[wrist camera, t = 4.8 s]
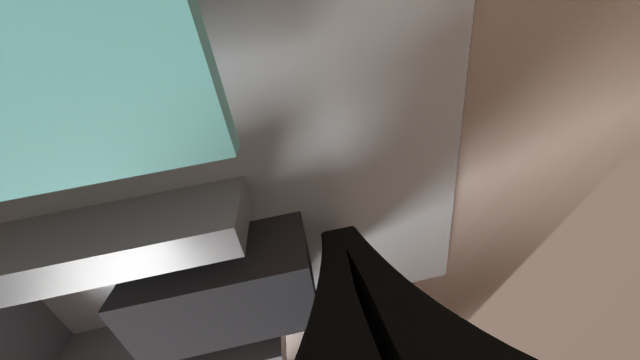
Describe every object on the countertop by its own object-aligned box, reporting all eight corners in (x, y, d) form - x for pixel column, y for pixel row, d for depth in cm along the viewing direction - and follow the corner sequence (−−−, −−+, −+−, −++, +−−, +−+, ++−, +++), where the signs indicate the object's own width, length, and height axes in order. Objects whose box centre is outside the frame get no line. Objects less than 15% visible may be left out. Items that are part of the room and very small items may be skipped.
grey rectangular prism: (311, 263, 12) (322, 327, 9) (171, 293, 12) (141, 368, 9) (300, 211, 11) (309, 267, 8) (142, 242, 10) (97, 313, 8)
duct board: (437, 263, 14) (486, 331, 11) (81, 343, 13) (16, 446, 10) (464, -53, 8) (595, -116, 5) (-199, 46, 7) (-621, 54, 4)
